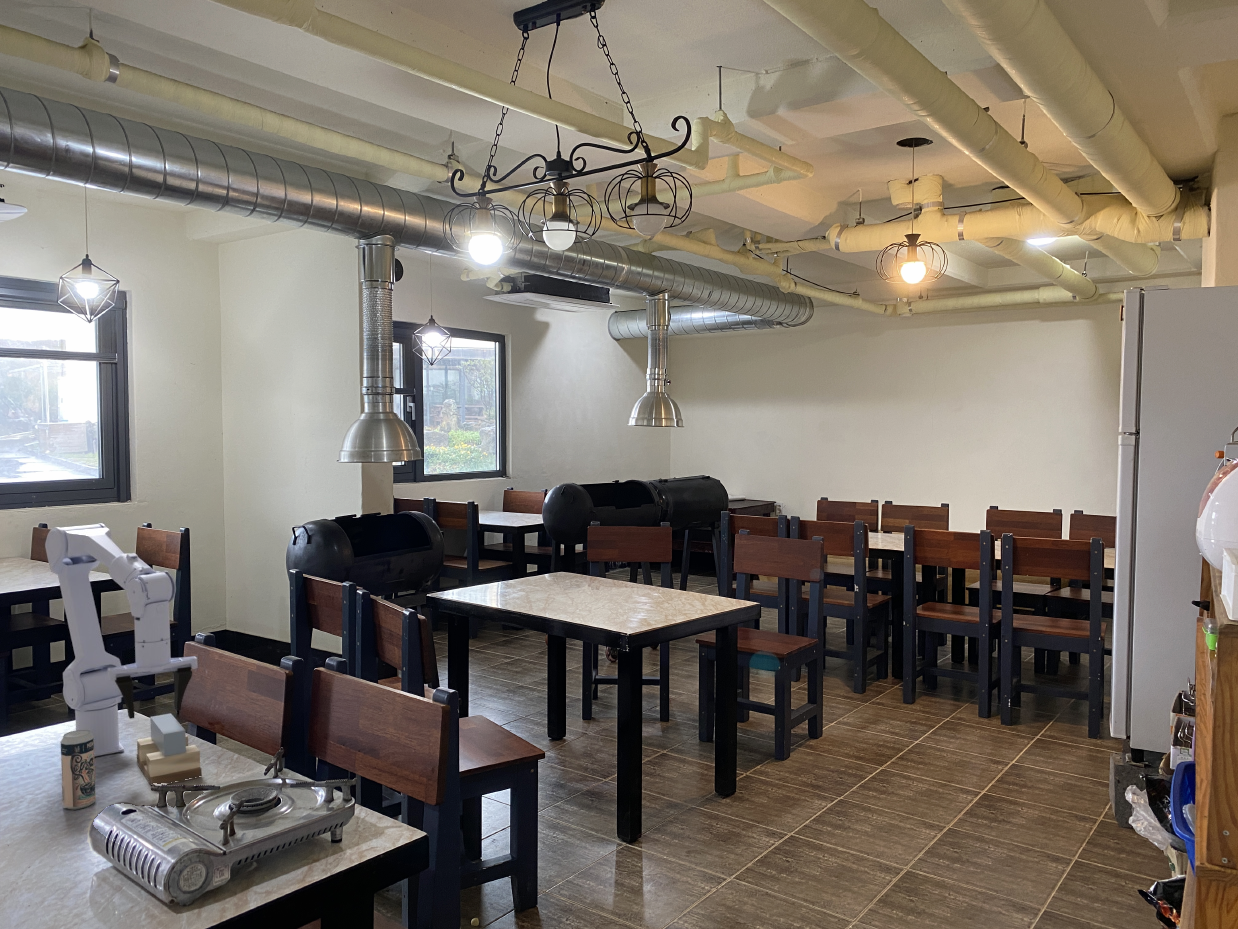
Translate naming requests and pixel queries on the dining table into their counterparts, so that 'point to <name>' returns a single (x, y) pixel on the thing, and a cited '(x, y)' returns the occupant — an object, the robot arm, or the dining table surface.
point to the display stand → (167, 763)
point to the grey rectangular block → (168, 734)
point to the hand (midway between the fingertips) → (154, 713)
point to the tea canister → (78, 769)
